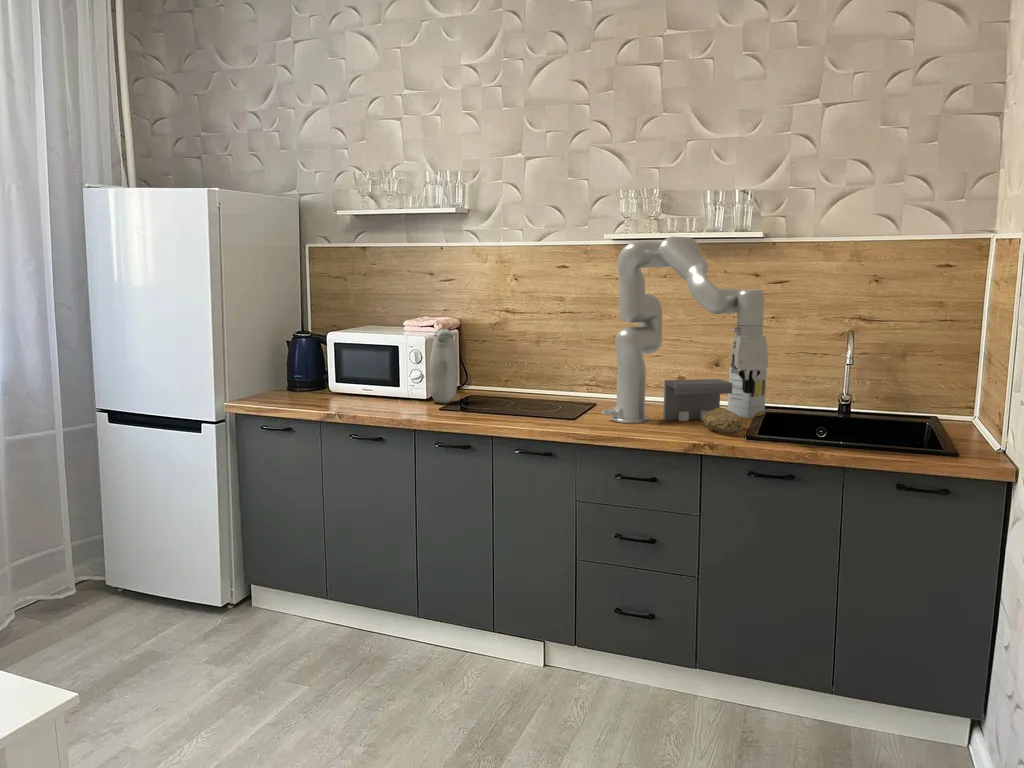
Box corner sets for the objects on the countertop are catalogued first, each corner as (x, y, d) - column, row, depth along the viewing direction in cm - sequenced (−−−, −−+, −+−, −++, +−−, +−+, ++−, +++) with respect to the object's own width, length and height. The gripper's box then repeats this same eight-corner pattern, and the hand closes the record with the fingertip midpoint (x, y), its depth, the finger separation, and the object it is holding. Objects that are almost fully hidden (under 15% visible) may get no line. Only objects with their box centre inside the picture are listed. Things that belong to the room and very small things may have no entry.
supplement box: (747, 418, 289) (750, 370, 287) (726, 414, 296) (728, 367, 294) (765, 416, 295) (767, 368, 292) (744, 412, 302) (746, 365, 300)
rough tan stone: (705, 428, 279) (694, 425, 260) (712, 405, 279) (701, 401, 260) (745, 439, 273) (736, 437, 255) (752, 415, 273) (743, 412, 255)
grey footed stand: (675, 424, 277) (676, 384, 275) (663, 419, 286) (664, 380, 285) (730, 422, 281) (732, 382, 279) (717, 417, 291) (718, 378, 289)
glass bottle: (426, 402, 319) (426, 328, 315) (451, 400, 323) (451, 327, 319) (435, 405, 310) (434, 330, 306) (461, 404, 314) (460, 329, 311)
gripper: (732, 332, 242) (730, 395, 244) (779, 331, 245) (777, 393, 248) (720, 331, 249) (719, 392, 252) (766, 330, 253) (764, 390, 255)
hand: (748, 392), depth 250 cm, fingers closed
